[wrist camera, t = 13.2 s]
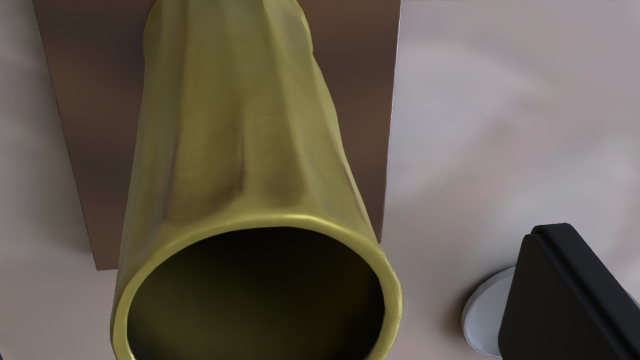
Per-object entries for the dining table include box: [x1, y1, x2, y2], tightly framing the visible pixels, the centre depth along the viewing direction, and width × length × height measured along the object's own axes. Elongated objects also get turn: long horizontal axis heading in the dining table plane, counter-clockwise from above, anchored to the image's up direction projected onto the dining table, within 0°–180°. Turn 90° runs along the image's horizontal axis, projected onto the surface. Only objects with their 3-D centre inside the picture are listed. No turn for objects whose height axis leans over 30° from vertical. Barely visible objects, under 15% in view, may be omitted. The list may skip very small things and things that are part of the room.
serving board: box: [32, 0, 402, 271], centre depth 23 cm, size 20×13×1 cm, turn 179°
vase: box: [110, 0, 403, 360], centre depth 17 cm, size 6×6×14 cm
